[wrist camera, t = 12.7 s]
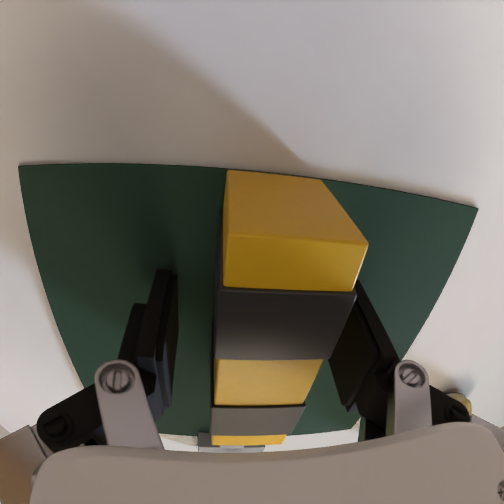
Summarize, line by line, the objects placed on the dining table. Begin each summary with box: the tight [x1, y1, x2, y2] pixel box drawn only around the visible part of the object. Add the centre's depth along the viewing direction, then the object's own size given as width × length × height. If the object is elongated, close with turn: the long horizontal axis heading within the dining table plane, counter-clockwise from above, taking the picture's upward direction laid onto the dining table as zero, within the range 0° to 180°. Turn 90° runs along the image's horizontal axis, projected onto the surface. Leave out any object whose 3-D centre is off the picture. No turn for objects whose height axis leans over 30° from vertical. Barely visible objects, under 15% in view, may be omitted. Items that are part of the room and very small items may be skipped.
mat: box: [18, 163, 478, 436], centre depth 14 cm, size 18×18×1 cm
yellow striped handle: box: [198, 170, 368, 453], centre depth 13 cm, size 4×21×4 cm, turn 173°
